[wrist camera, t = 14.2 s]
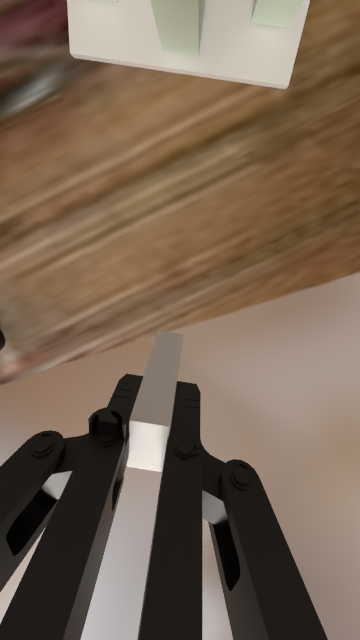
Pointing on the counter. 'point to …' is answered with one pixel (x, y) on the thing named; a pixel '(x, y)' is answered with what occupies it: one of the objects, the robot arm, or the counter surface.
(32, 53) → the counter surface
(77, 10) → the button panel
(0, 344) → the coffee mug
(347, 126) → the counter surface
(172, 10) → the middle button
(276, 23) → the pale green tall block
